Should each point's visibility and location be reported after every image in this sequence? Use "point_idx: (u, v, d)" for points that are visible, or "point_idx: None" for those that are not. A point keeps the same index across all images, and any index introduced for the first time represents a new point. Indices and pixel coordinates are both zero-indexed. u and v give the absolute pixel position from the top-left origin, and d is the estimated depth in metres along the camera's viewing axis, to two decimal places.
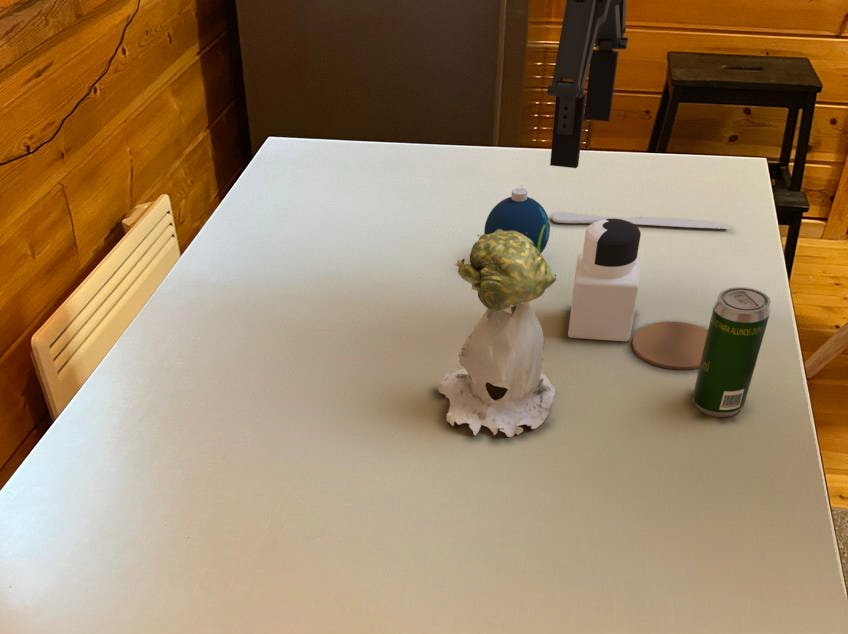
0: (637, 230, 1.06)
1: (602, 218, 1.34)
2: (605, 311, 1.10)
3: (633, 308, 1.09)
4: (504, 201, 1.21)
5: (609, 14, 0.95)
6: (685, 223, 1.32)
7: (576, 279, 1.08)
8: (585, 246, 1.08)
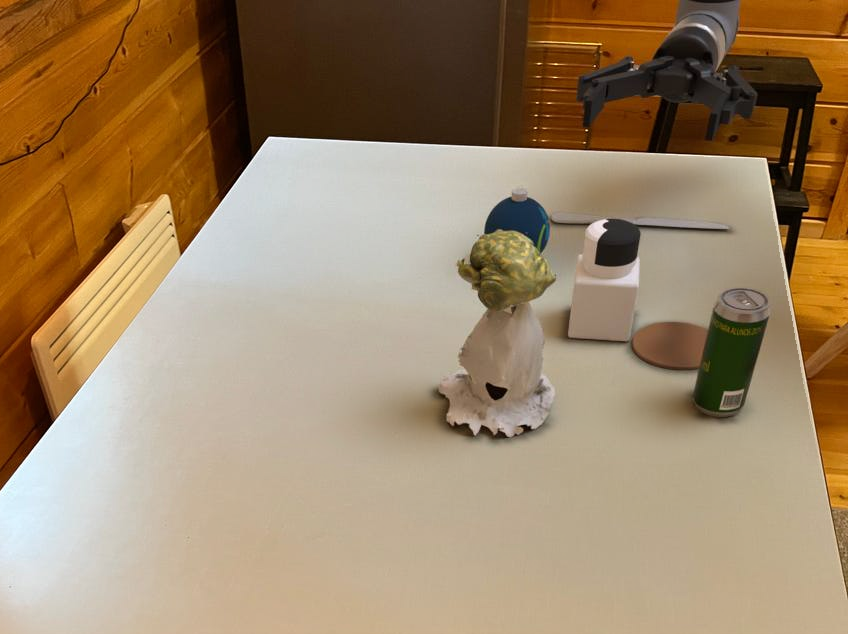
0: (637, 230, 1.06)
1: (602, 218, 1.34)
2: (605, 311, 1.10)
3: (633, 308, 1.09)
4: (504, 201, 1.21)
5: (705, 86, 1.10)
6: (685, 224, 1.32)
7: (576, 279, 1.08)
8: (585, 246, 1.08)
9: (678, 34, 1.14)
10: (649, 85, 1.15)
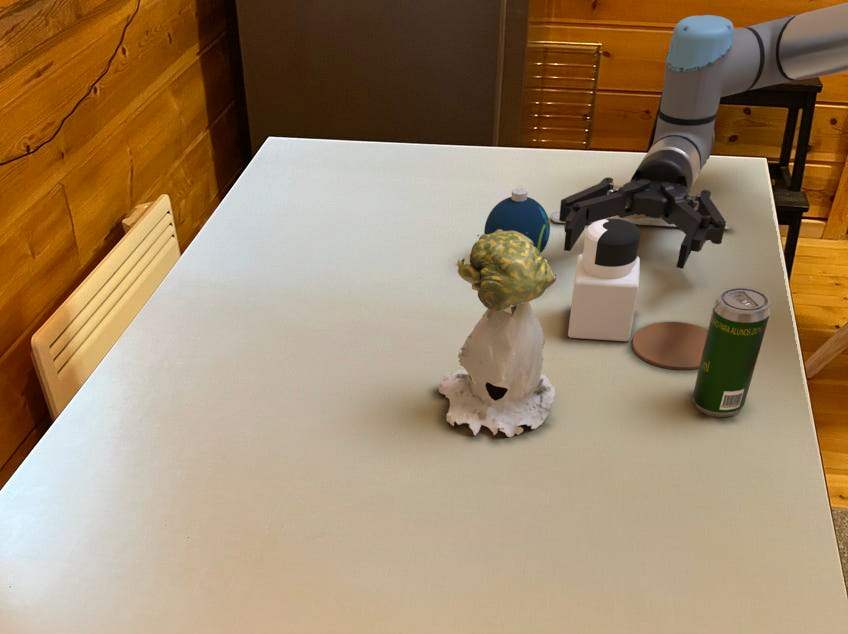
0: (637, 230, 1.06)
1: None
2: (605, 311, 1.10)
3: (633, 308, 1.09)
4: (504, 201, 1.21)
5: (678, 211, 1.18)
6: None
7: (576, 279, 1.08)
8: (585, 246, 1.08)
9: (654, 159, 1.22)
10: (627, 206, 1.23)
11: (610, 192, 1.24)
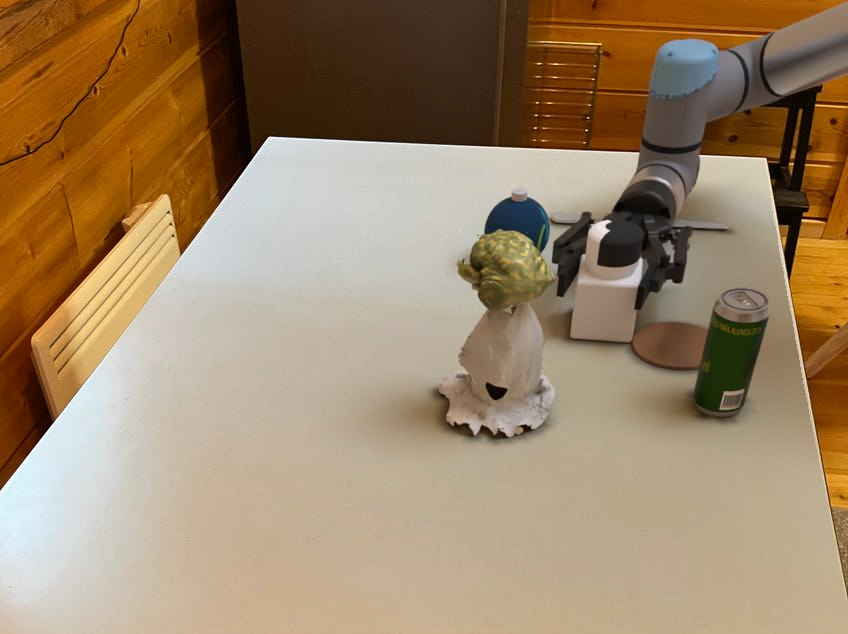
0: (640, 231, 1.06)
1: (602, 218, 1.34)
2: (607, 312, 1.10)
3: None
4: (504, 201, 1.21)
5: (649, 246, 1.13)
6: (685, 223, 1.32)
7: (578, 279, 1.08)
8: (588, 247, 1.07)
9: (636, 190, 1.17)
10: None
11: None
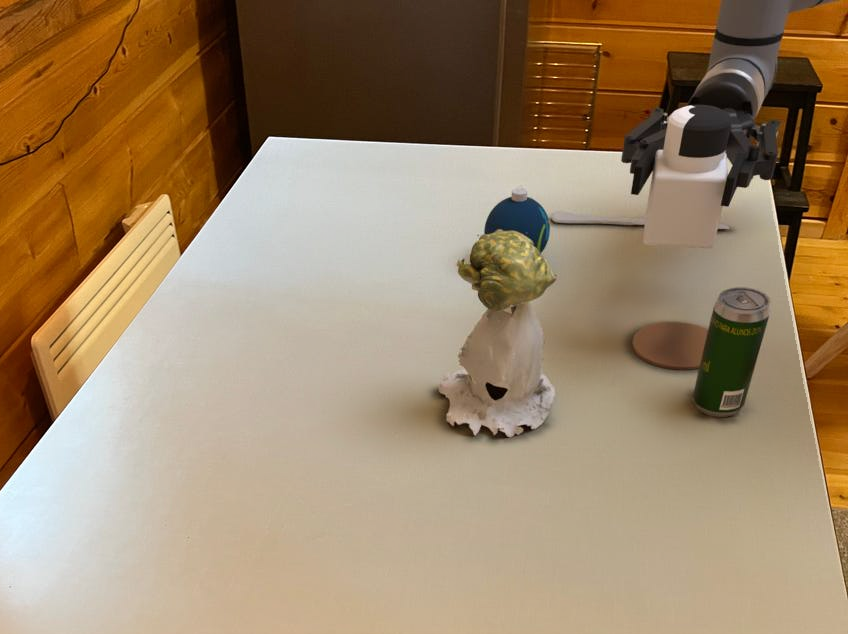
0: (728, 116, 0.94)
1: (602, 218, 1.34)
2: (688, 212, 0.97)
3: (720, 207, 0.97)
4: (504, 201, 1.21)
5: (732, 141, 1.01)
6: None
7: (657, 173, 0.96)
8: (668, 135, 0.95)
9: (714, 82, 1.04)
10: None
11: (665, 124, 1.05)
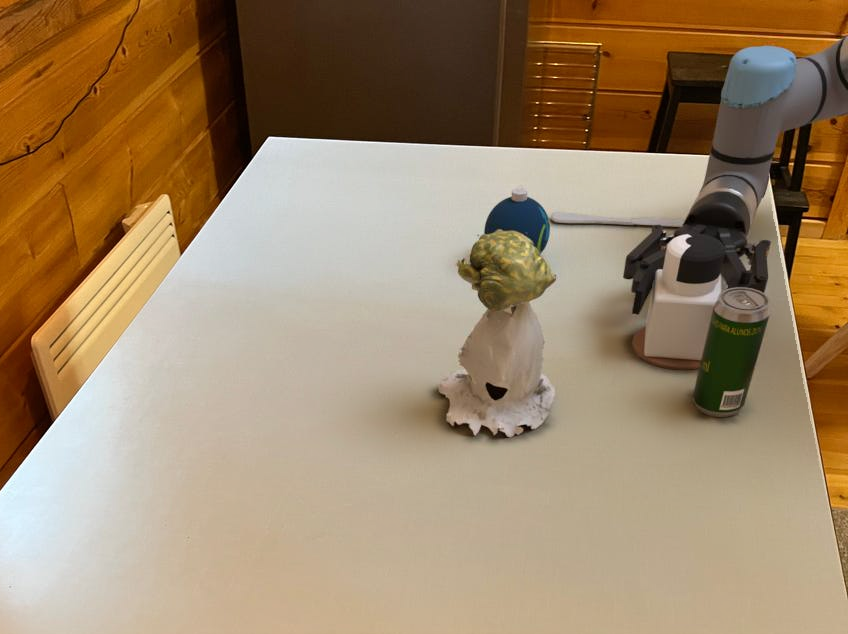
0: (722, 246, 1.02)
1: (602, 218, 1.34)
2: (685, 330, 1.06)
3: None
4: (504, 201, 1.21)
5: (726, 261, 1.09)
6: None
7: (656, 296, 1.04)
8: (666, 262, 1.03)
9: (710, 202, 1.13)
10: None
11: (664, 240, 1.14)
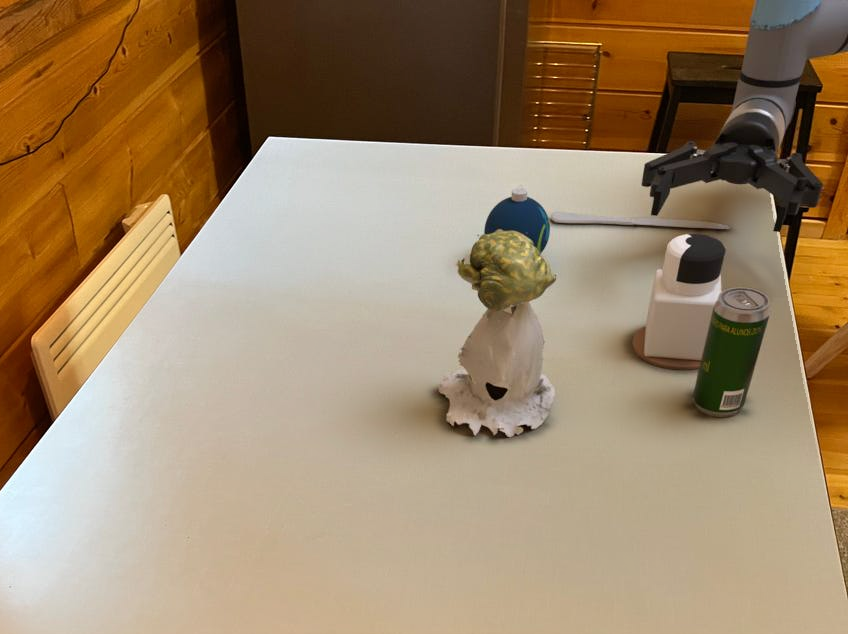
0: (722, 246, 1.02)
1: (602, 218, 1.34)
2: (685, 330, 1.06)
3: None
4: (504, 201, 1.21)
5: (770, 174, 1.13)
6: (685, 223, 1.32)
7: (656, 296, 1.04)
8: (666, 262, 1.03)
9: (741, 121, 1.17)
10: (712, 170, 1.17)
11: (694, 156, 1.18)
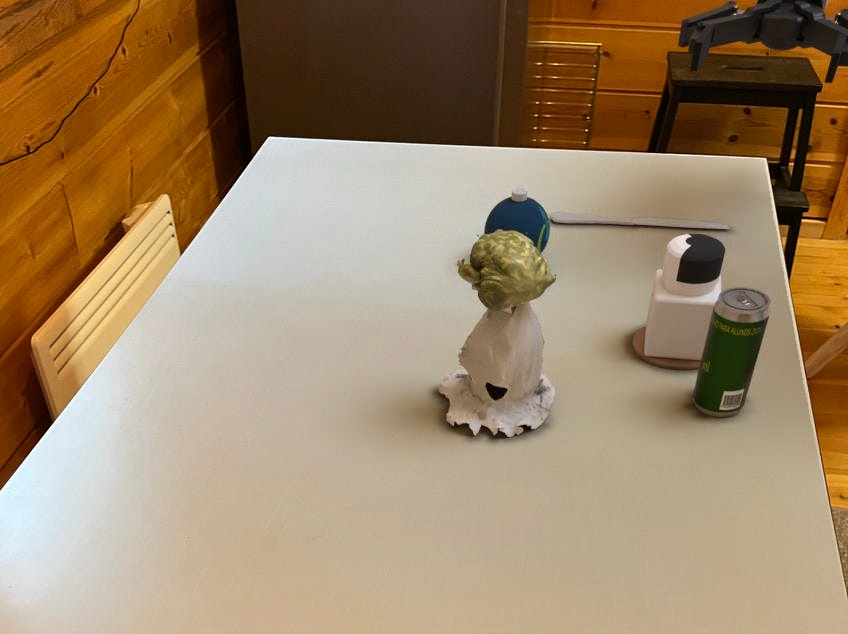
0: (722, 246, 1.02)
1: (602, 218, 1.34)
2: (685, 330, 1.06)
3: None
4: (504, 201, 1.21)
5: (818, 29, 1.04)
6: (685, 224, 1.32)
7: (656, 296, 1.04)
8: (666, 262, 1.03)
9: None
10: (754, 30, 1.08)
11: None
